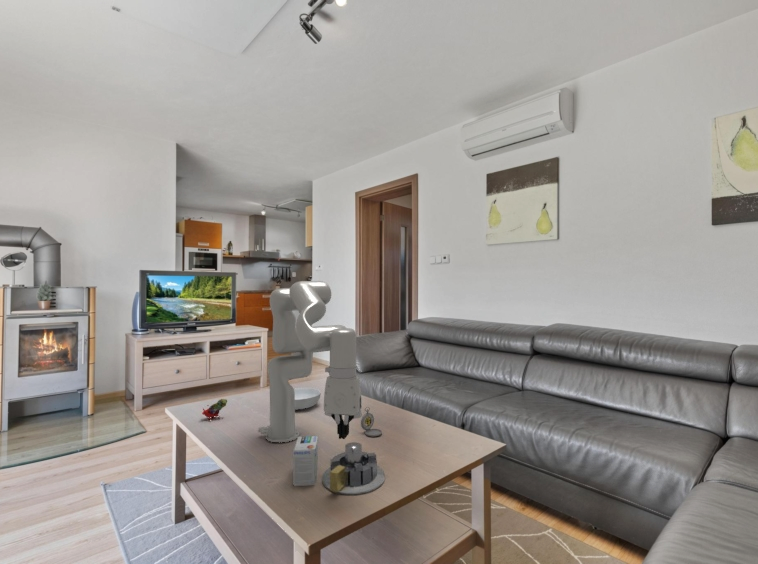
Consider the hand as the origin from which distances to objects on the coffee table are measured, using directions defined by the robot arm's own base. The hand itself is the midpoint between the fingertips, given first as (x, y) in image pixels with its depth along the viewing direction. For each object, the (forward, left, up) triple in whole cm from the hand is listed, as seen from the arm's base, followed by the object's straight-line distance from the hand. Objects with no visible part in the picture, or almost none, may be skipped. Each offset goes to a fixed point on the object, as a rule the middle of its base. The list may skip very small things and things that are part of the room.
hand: (343, 436), depth 109 cm
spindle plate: (+3, +9, -16) cm, 19 cm away
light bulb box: (-12, +11, -17) cm, 23 cm away
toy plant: (-58, +69, -16) cm, 92 cm away
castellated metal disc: (+3, +7, -15) cm, 17 cm away
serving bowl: (-22, +82, -17) cm, 87 cm away
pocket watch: (+11, +44, -16) cm, 48 cm away
